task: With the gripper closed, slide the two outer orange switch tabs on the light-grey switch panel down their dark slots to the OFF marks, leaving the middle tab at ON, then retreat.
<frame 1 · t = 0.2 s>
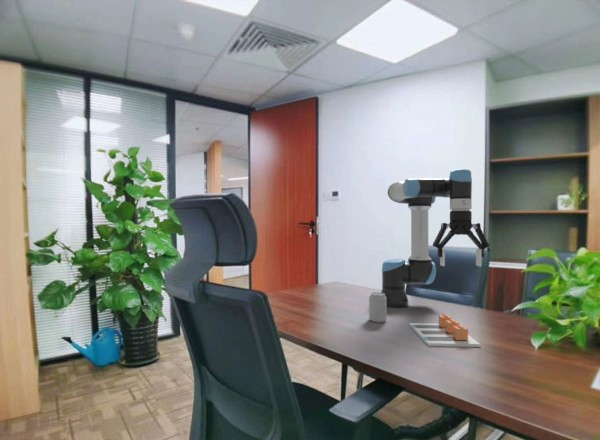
hand: (460, 265, 128), 27 cm above the table, fingers open, 13 cm apart
panel: (441, 335, 129), on the table
can: (377, 321, 148), on the table
tab2: (452, 326, 129), point 4 cm above the table, slide at 8.0 cm
tab1: (445, 320, 136), point 4 cm above the table, slide at 8.0 cm
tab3: (460, 332, 122), point 4 cm above the table, slide at 8.0 cm
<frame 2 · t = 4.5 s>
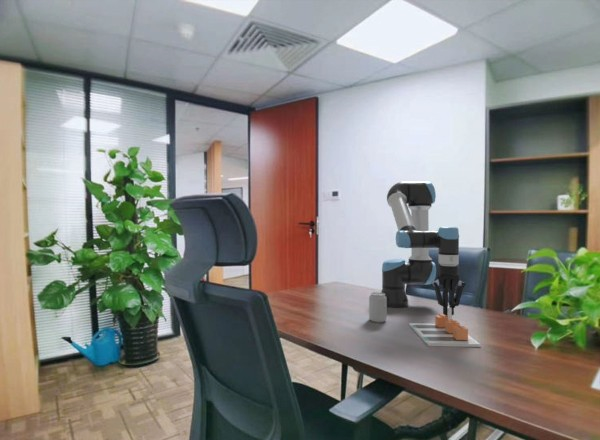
hand: (448, 322, 136), 3 cm above the table, fingers closed
tab1: (441, 320, 136), point 4 cm above the table, slide at 6.6 cm, touching gripper
everything else where it was.
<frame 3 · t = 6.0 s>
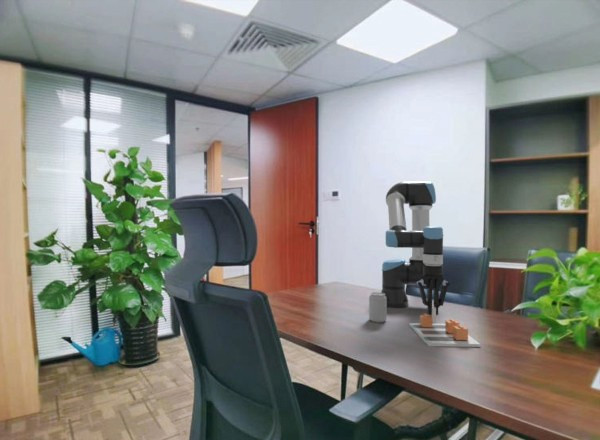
hand: (432, 322, 136), 3 cm above the table, fingers closed
tab1: (426, 320, 136), point 4 cm above the table, slide at 0.4 cm, touching gripper
everything else where it was.
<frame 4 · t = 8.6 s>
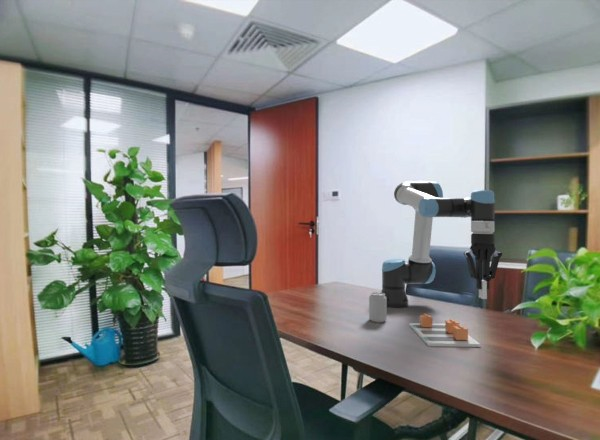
hand: (482, 298, 121), 16 cm above the table, fingers closed
tab1: (425, 320, 136), point 4 cm above the table, slide at 0.3 cm
everything else where it was.
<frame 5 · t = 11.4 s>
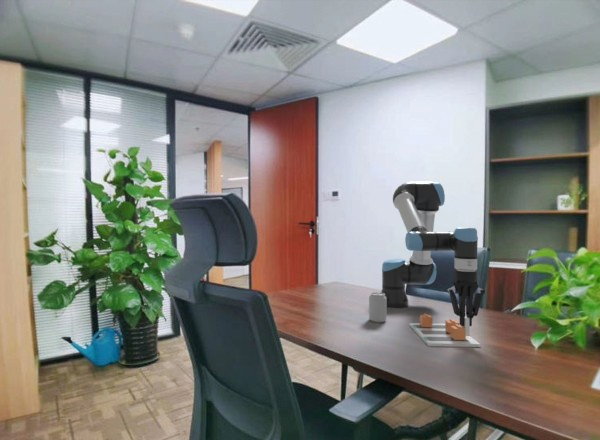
hand: (465, 334, 122), 3 cm above the table, fingers closed
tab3: (458, 332, 122), point 4 cm above the table, slide at 7.2 cm, touching gripper
everything else where it was.
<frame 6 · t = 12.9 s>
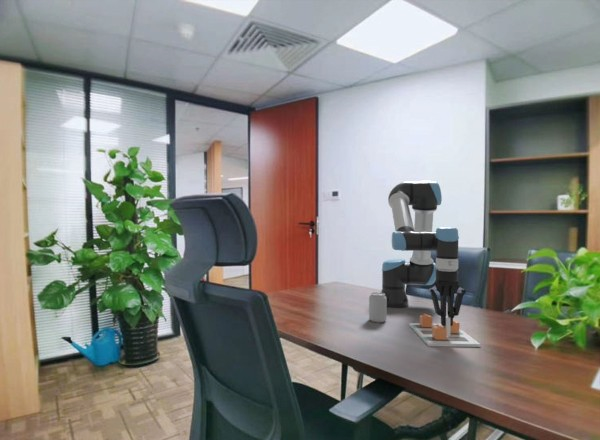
hand: (446, 334, 122), 3 cm above the table, fingers closed
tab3: (439, 331, 122), point 4 cm above the table, slide at 0.5 cm, touching gripper
everything else where it was.
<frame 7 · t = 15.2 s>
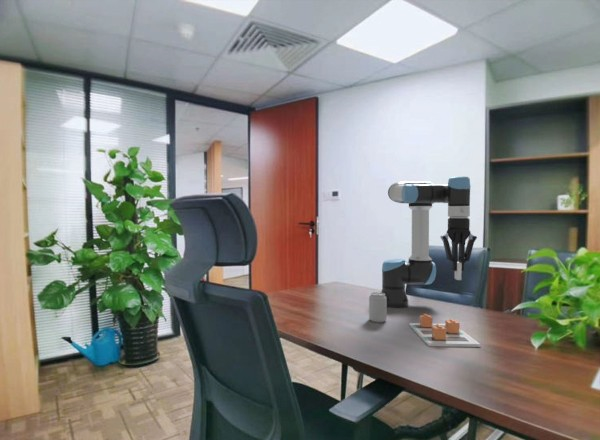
hand: (457, 279, 128), 22 cm above the table, fingers closed
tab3: (438, 331, 122), point 4 cm above the table, slide at 0.3 cm
everything else where it was.
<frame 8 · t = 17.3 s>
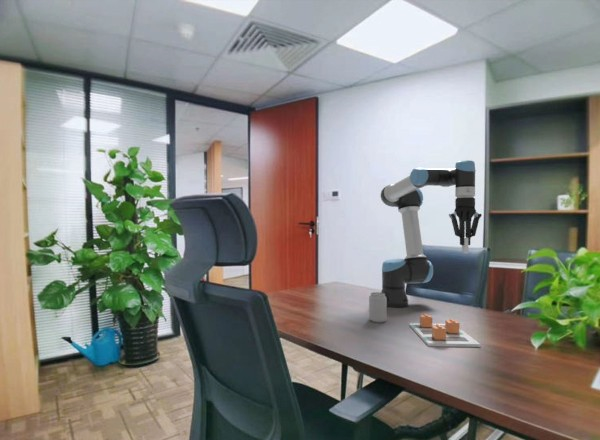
hand: (465, 252, 142), 30 cm above the table, fingers closed
nothing on the table moved.
at the end: tab1 slide at 0.3 cm; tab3 slide at 0.3 cm; tab2 slide at 8.0 cm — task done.
